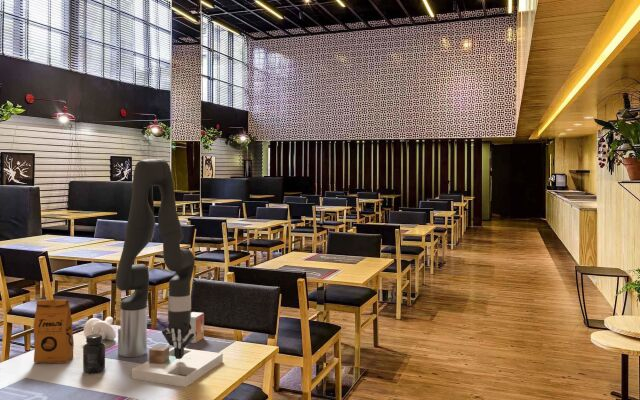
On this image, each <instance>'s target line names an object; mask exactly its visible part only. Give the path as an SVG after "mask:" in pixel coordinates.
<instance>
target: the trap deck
mask: <svg viewBox="0 0 640 400" xmlns="http://www.w3.org/2000/svg"><path fill="white" fill-rule="evenodd" d="M174 354H175V352H174V347H172V348H169V360H168V361H166V362H165V363H164V364H153V363H149V360H147V361H146V362H143V363H142V364H139V365H138V366H135V367H134V368H132V369H131V379H133V380H140V381H146V382H152V383H157V384H163V385H168V386H169V385H171V386H177V387H184V388H186V387H189V385H190V384H192V383H194V382H195V381H197V380H198V379H200V378H201V377H203V376H204V375H205V374H206V373H208V372H210V371H211V370H213V369H214V368H216V367H217V366H219V365H221V364H222V363H223V353H222V352H213V351H208V350H198V349H193V348H192V349H191V348H186V347H184V356H183V357H182V358H181V359H176V357H175V355H174Z"/></svg>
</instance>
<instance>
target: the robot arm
mask: <svg viewBox="0 0 640 400" xmlns="http://www.w3.org/2000/svg"><path fill="white" fill-rule="evenodd" d="M132 177H133V178H132V190H131V192H132V193H131V202H130V208H129V212H128V213H129V215H128V219H127V221H126V222H127V223H126V227H125V236H124V241H123V246H122V250H121V251H122V252H121V256H120V259H119V262H118V265H117V269H116V274H115V285H116V287H117V290H119V291H123V292H126V291H133V292H132V293H131V294H130V295H129V296H127V297H124V298H123V299H122V300H121V301H120V322H119V324H120V327H119V328H118V329H117V354H118V355H120V356H121V357H123V358H137V357H141V356H143V355H145V354H147V349H148V348H147V347H148V346H147V342H148V340H147V339H148V337H147V336H148V335H147V334H148V333H147V331H148V330H147V329H148V317H147V316H148V315H147V314H148V312H147V311H148V310H147V309H148V299H149V284H150V283H149V282H150V273H149V269H148V267H147V265H146V264H145V263H138V264H134V262H135V260H136V258H137V256H139V254H140V253H141V252H142V251H143V250H144V249H145V248H146V247H147V245H148V244H149V243H150V242H151V240H152V239H153V236H154V230H155V225H156V217H155V215H154V211H153V210H152V207H151V206H150V204H149V203H150V202H149V195H150V194H149V192H150V188H151V187H158V188H159V191H160V199H161V200H160V206H159V210H158V214H157V224H158V229H159V231H160V232H159V233H160V235H161V239H162V251H163V253H162V255H163V262H164V265H165V267H166V268H167V269H168V270H169V271H171V272H175V273H174V275H173V277H171V279H169V281H168V300H167V321H168V322H167V323H168V325H167V327H166V328H165V329H164V330H161V333H162V335H163V337H164V338H165V340H166V341H167V343H168V344H169V345H168V346H169V347H173V348H174V352H175V354H174V355H175V357H176V359H181V358H182V357H183V356H184V348H186V347H188V346H190V344H192V343H191V342H192V340H193V339H194V338H195V337H196V335H197V332H193V331H192V330H191V325H190V321H191V312H192V297H191V280H192V277H193V273H194V268H195V255H194V253H193V252H192V250H191V249H188V248H181V244H180V243H181V242H182V241H183V240H184V231H183V228H182V226H181V222H180V219H179V215H178V210H177V204H176V197H175V195H176V194H175V189H174V182H173V180H174V179H173V174H172V169H171V166H170V164H169V163H168V161H166V160H165V159H162V158H150V159H141V160H139V161H137V162H136V164H135V167H134V170H133V176H132ZM188 333H189V334H188ZM187 335H188V338H187V340H186V336H187ZM185 340H186V341H185Z"/></svg>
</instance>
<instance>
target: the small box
mask: <svg viewBox="0 0 640 400" xmlns="http://www.w3.org/2000/svg"><path fill="white" fill-rule="evenodd" d="M190 325H191V330H192V331H193V332H197V335H196V337H195V338H194V339H193V340H192V342H191V343H190V344H197V343H199V341H201V340H202V338H203V337H205V332H204V329H205V313H204V312H196V311H191V321H190ZM188 334H189V333H188ZM187 338H188V335H187V336H186V340H187ZM203 339H204V338H203ZM186 340H185V341H186Z"/></svg>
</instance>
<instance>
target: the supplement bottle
mask: <svg viewBox="0 0 640 400" xmlns="http://www.w3.org/2000/svg"><path fill="white" fill-rule="evenodd" d="M85 339H86V341H85V342H86V344H84V345H83V348H82V371H83V374H86V375H96V374H100V373H102V372H104V371H105V369H106V344H105V343H104V342H102V341H103V340H102V335H101V334H92V335H88V336H87V337H86V338H85Z"/></svg>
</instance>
